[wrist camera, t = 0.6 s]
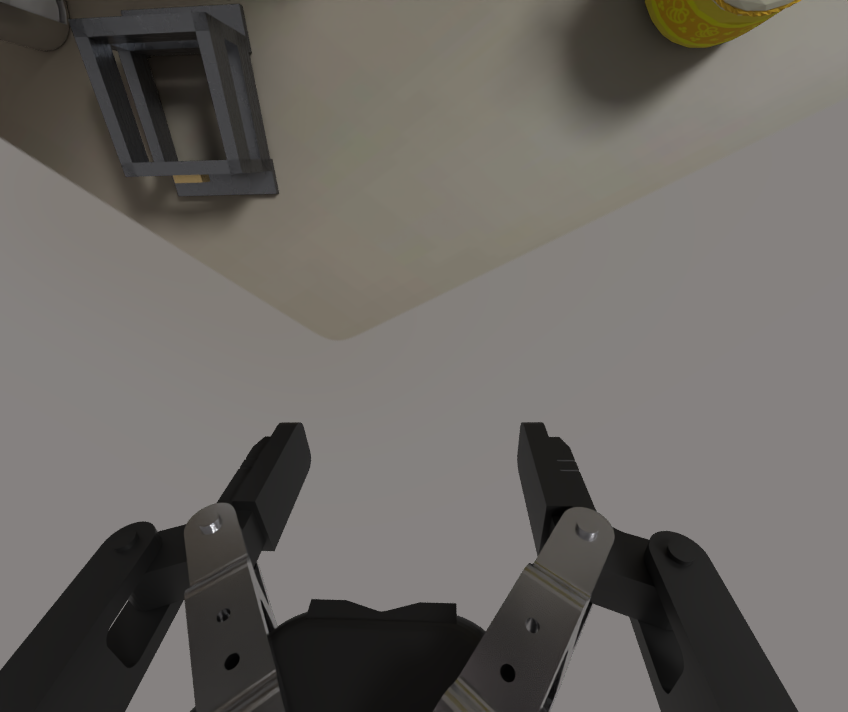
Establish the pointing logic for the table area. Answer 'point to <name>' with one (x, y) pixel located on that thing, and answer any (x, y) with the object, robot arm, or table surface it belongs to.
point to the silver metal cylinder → (34, 23)
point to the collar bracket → (136, 42)
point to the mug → (710, 19)
